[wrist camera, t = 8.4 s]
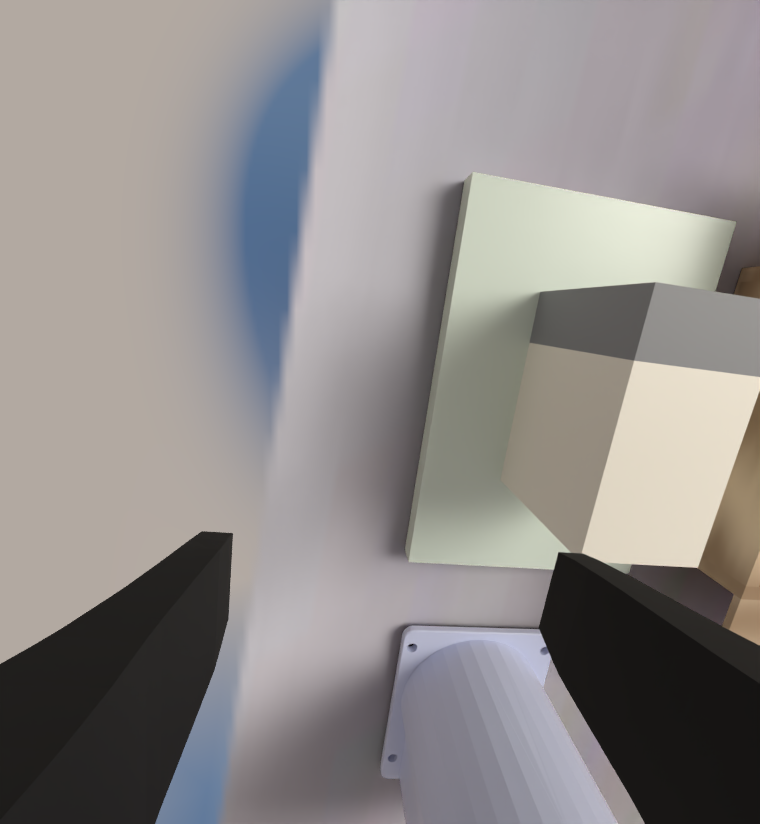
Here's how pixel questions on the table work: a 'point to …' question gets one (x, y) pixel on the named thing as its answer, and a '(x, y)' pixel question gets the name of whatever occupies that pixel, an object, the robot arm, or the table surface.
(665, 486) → the block
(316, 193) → the table surface
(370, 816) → the table surface
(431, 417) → the board
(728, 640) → the robot arm
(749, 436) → the light wood shallow tray
